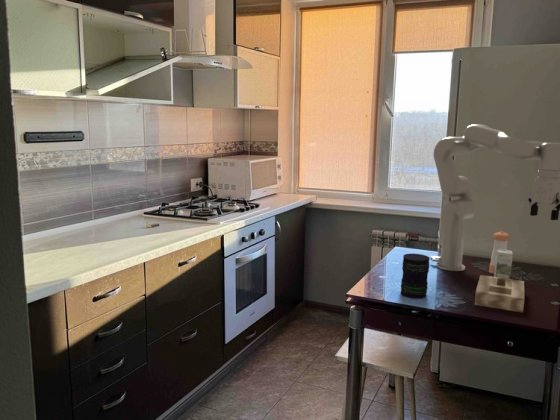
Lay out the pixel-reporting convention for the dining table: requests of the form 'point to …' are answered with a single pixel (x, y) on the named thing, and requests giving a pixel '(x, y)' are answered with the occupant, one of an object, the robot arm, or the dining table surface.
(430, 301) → the dining table surface
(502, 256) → the syrup box
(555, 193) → the robot arm
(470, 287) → the dining table surface
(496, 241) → the salt shaker
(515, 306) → the socket block
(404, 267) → the storage jar
